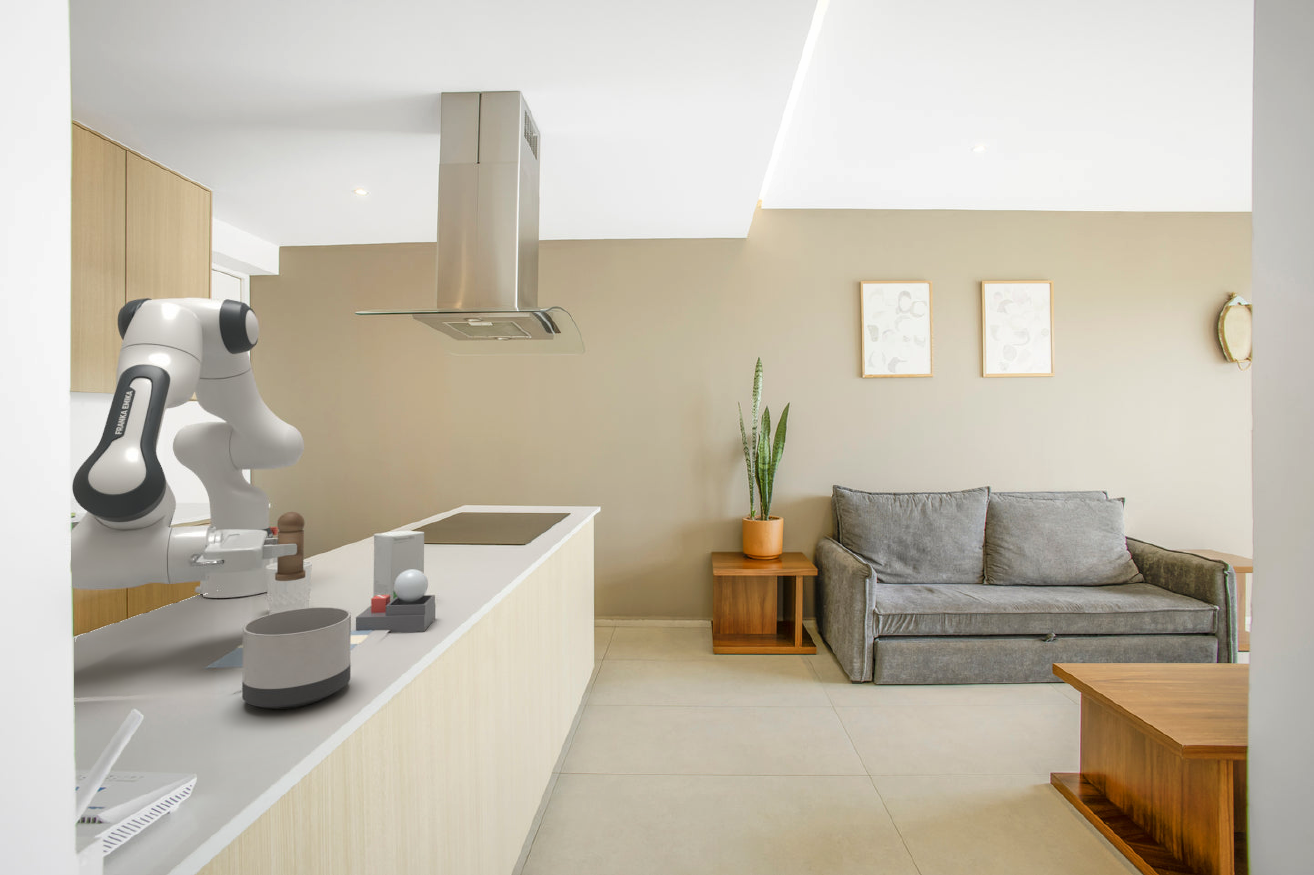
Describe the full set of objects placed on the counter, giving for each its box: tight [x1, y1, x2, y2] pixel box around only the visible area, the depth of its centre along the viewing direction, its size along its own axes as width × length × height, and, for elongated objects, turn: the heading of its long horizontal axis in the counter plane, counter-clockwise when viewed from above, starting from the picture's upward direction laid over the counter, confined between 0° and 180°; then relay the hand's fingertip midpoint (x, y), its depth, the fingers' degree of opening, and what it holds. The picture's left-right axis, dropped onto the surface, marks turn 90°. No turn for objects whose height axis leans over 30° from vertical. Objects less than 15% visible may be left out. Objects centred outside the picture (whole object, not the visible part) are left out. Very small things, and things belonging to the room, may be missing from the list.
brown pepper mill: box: [275, 511, 305, 581], centre depth 102 cm, size 4×4×11 cm
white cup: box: [266, 560, 313, 615], centre depth 120 cm, size 8×8×10 cm
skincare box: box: [372, 530, 425, 602], centre depth 126 cm, size 8×7×16 cm
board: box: [204, 630, 374, 669], centre depth 100 cm, size 16×20×1 cm
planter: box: [241, 606, 352, 710], centre depth 83 cm, size 13×13×10 cm
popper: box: [355, 594, 436, 634], centre depth 113 cm, size 8×12×6 cm, turn 97°
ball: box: [394, 569, 429, 602], centre depth 113 cm, size 6×6×6 cm
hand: (297, 546), depth 102 cm, fingers closed on brown pepper mill, 4 cm apart
